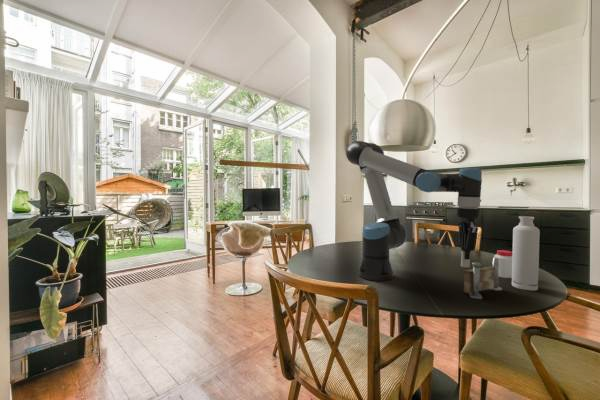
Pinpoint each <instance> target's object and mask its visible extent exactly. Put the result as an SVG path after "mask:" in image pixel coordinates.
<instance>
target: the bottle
mask: <svg viewBox="0 0 600 400" xmlns="http://www.w3.org/2000/svg"><path fill="white" fill-rule="evenodd" d="M518 219H519V223H518V225H515V226H514V227H512V228H513V229H512V251H511V252H512V278H511V286H512V287H514V288H516V289H520V290H525V291H533V292H534V291H538V289H539V285H538V283H539V267H540V263H539V262H540V260H539V259H540V235H541V234H540V233H541V232H540V231H541V230H540V228H539V227H537V226H535V224H534V222H533V221H534V220H535V217H534V216H527V215H526V216H525V215H524V216H523V215H519V216H518Z"/></svg>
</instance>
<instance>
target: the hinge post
mask: <svg viewBox="0 0 600 400" xmlns="http://www.w3.org/2000/svg"><path fill="white" fill-rule="evenodd" d="M491 260H492V264H491V267H494V268H495V270H494V288H490V289H489V290H491V291H496V292H502V290H503V287H500V286H499V277H498V274H499V259H498V258H494V257H492V259H491Z"/></svg>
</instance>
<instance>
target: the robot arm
mask: <svg viewBox="0 0 600 400" xmlns="http://www.w3.org/2000/svg"><path fill="white" fill-rule="evenodd" d="M345 152H346V153H345V154H346V155H345V156H346V158H347V161H349V162H350V163H351V164H353V165H357V166H358V167H359V170H360V173H362V174H363V175H364V177H365V180H366V185H367V188H368V193H369V195H370V198H371V203H372V207H373V210H374V214H375V217H376V221H375V222H371V223H370V222H369V223H367V224H364V225H363V227H362V232H361V236H362V248H361V249H362V253H361V254H362V258H361V260H360V261H361V262H360V264H359V267H358V270H357V271H358V276H359V277H360V278H363V279H365V280H369V281H376V282H377V281H378V282H383V281H385V282H387V281H391V280H392V279H393V278H394V270H393V267H392V264H391V262H390V261H391V260H390V250H391V249H397V248H399V247H401V246H403V244H404V243H406V241H407V238H408V231H407V229H406V227H405V225H403V224H402V223H401V221H400V218H399V217H398V216H397V215H395V212H394V207H393V206H392V202H391V197H390V195H389V191H388V187H387V184H386V181H385V177H384V174H385V175H387V176H390V177H392V178H394V179H396V180H399V181H401V182H405V183H406V184H409V185H412V186H414V187H415V188H418V190H419V191H421V192H424V193H458V195H457V207H458V208H457V212H456V216H457V218H460V219H461V220H460V222H458V223H457V226H458V243H459V245H458V246H459V247H460V249H461V253H460V254H461V256H460V267H462V268H470V267H471V266H470V265H471V264H470V263H471V252H473V251H474V250H475V249H474V248H475V244H476V237H477V233H478V230H479V228H478V227H476V222H475V219H477V220H478V219H479V218H480V211H481V210H480V207H481V202H482V199H481V194H482V182H483V179H482V178H483V177H482V170H481V168H478V167H467V168H465V167H463V168H459V171H458V173H439V172H434V171H431V170H428V169H425V168H422V167H419V166H416V165H413V164H411V163H408V162H405V161H403V160H400V159H396V158H394V157H393V156H392V157H391V156H388V155H387V154H385V152H384V150H383V148H382V147H381V146H380V145H378V144H376V143H373V142H365V141H363V140H356V141H353V142H351V143H350V144H349V145H347V148H346V151H345Z"/></svg>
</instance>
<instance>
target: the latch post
mask: <svg viewBox="0 0 600 400" xmlns="http://www.w3.org/2000/svg"><path fill="white" fill-rule="evenodd" d="M481 265H482V264H481V262H477V261H472V262H471V266H472V269H473V290H472V293H468V295H469V297H470V298H472V299H477V300H483V296H482V294H481V293H480V291H479V273H480V268H482V267H481Z"/></svg>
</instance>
